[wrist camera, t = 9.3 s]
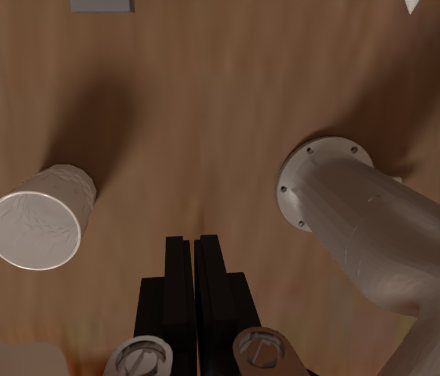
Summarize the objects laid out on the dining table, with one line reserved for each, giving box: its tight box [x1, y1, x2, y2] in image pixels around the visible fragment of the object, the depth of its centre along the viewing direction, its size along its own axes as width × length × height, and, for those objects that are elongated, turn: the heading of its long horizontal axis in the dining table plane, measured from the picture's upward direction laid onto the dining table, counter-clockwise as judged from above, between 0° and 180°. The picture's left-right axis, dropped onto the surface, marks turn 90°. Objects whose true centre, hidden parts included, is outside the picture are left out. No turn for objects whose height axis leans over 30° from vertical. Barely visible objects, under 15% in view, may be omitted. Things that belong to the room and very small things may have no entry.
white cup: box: [0, 164, 97, 270], centre depth 35 cm, size 8×8×10 cm
